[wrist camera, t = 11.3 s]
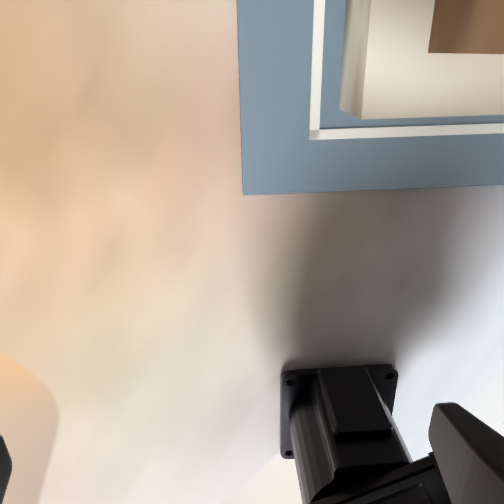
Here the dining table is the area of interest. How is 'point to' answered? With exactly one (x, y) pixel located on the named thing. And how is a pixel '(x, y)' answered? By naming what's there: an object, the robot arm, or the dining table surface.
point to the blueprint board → (339, 116)
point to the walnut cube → (467, 27)
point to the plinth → (411, 66)
